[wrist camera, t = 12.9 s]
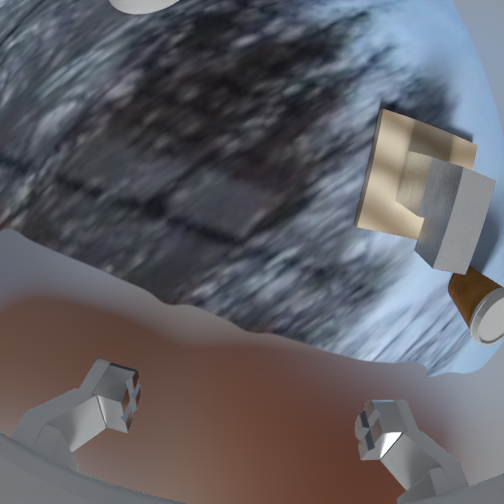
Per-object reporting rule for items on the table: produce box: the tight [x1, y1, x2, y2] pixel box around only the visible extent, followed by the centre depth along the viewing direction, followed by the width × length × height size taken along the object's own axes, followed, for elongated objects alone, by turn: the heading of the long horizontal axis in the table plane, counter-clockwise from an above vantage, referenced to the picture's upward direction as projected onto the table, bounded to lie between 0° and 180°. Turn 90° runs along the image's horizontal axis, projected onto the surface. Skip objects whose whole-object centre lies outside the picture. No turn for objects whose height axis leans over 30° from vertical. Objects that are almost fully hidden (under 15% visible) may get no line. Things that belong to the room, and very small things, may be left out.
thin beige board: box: [354, 109, 477, 240], centre depth 36 cm, size 16×16×6 cm
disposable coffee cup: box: [448, 267, 504, 346], centre depth 39 cm, size 10×10×12 cm
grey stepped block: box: [395, 151, 496, 275], centre depth 32 cm, size 11×7×12 cm, turn 171°
